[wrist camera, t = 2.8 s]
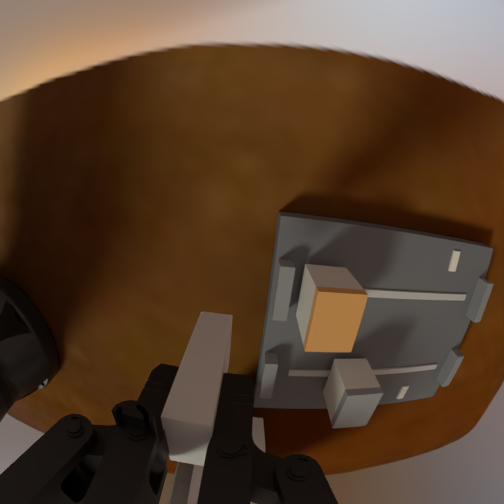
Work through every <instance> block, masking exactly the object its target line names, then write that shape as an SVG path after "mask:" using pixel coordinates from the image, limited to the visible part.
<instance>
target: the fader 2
mask: <svg viewBox="0 0 504 504" xmlns="http://www.w3.org/2000/svg"><path fill="white" fill-rule="evenodd" d="M323 394H324V398H325V401H326V405H327V409H328V413H329V417H330V421H331V425H332V429H333V428H347V427H358V426H366V424H367V423H368V421H369V419H370V417H371V416H372V414H373V412H374V410H375V408H376V407H377V405H378V403H379V401H380V399H381V397H382V395H383V391H382V389H381V387H380V385H379V383H378V381H377V379H376V377H375V375H374V373H373V371H372V369H371V367H370V365H369V363H368V361H367V359H366V358H363V359H334V361H333V365H332V368H331V371H330V374H329V376H328V379H327V382H326V385H325V388H324V391H323Z"/></svg>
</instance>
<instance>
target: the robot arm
mask: <svg viewBox="0 0 504 504" xmlns="http://www.w3.org/2000/svg"><path fill="white" fill-rule="evenodd" d="M232 318H233V315H226V314H218V313H210V312H202V311H201V313H200V316H199V318H198V321H197V323H196V326H195V328H194V331H193V333H192V336H191V338H190V341H189V343H188V346H187V349H186V351H185V354H184V356H183V359H182V361H181V364H180V367H177V366H171V365H166V364H160V365H159V366H157V367H156V368H155V369H153V370H152V372H151V374H150V376H149V378H148V381H147V382H146V384H145V386H144V389H143V390H142V392H141V395H140V397H139V399H138V401H133V400H129V401H123V402H121V403H119V404H117V405H115V407H114V408H113V409H112V413H113V416H114V419H115V421H116V424H117V425H110V426H106V425H92V424H91V422H90V421H89V420H88V419H87V418H86V417H84V416H82V415H80V414H70V415H66V416H65V417H63V418H61V419H60V420H59V421H58V422H57V423H56V424H55V425H54V426H53V427H51V428H50V429H49V430H48V431H47V432H46V433H45V434H44V435H43V436H42V437H41V438H40V439H39V440H37V441H36V442H35V443H34V444H33V445H32V446H31V447H30V448H29V449H28V450H27V451H25V452H24V453H23V454H22V455H21V456H20V457H19V458H18V459H17V460H16V461H15V462H14V463H12V464H11V465H10V466H9V467H8V468H7V469H6V470H5V471H4V472H3V473H2V474H1V475H0V504H159V501H160V497H161V493H162V489H163V485H164V481H165V478H166V474H167V466H166V462H167V459H168V455H169V457H170V460H174V461H178V462H183V463H189V464H194V465H201V466H204V467H203V473H202V478H201V484H200V489H199V495H198V500H197V504H250V502H253V503H256V504H338V502H337V500H336V498H335V496H334V494H333V492H332V490H331V488H330V486H329V484H328V482H327V480H326V477H325V475H324V473H323V471H322V469H321V467H320V465H319V464H318V463H317V461H316V460H314V459H313V458H311V457H309V456H306V455H302V454H292V455H289V456H287V457H284V458H280V457H277V456H274V455H270V454H268V453H265V452H263V451H262V450H261V449H259V448H258V447H257V446H256V444H255V443H254V441H253V437H252V425H253V401H254V384H253V382H252V380H251V378H250V376H249V375H239V374H230V373H227V371H228V365H229V357H230V344H231V331H232ZM58 368H59V357H58V352H57V348H56V345H55V342H54V340H53V337H52V335H51V333H50V331H49V329H48V327H47V325H46V323H45V321H44V320H43V318H42V316H41V315H40V313H39V312H38V310H37V309H36V307H35V306H34V305H33V303H32V302H31V301H30V300H29V298H28V297H27V296H26V295H25V294H24V293H23V292H22V291H21V290H20V289H19V288H18V287H17V286H16V285H14V284H13V283H12V282H10V281H8V280H6V279H4V278H0V422H1V420H2V419H3V417H4V416H5V415H6V413H7V412H8V410H9V409H10V408H11V407H12V406H13V404H14V403H15V402H16V401H18V400H20V399H22V398H24V397H26V396H28V395H29V394H31V393H33V392H34V391H36V390H37V389H41V388H43V387H45V386H46V385H48V384H49V383H50V381H51V380H52V379H53V378H54V376H55V375H56V374H57V372H58Z"/></svg>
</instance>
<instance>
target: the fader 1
mask: <svg viewBox="0 0 504 504" xmlns="http://www.w3.org/2000/svg"><path fill="white" fill-rule="evenodd" d="M367 298H368V294H367V293H366V291H365V290H364V289H363V288H362V286H361V285H360V284H359V283H358V282H357V280H356V279H355V278H354V277H353V275H352V274H351V273H350V272H349V271H348V269H347V268H345V267H334V266H323V265H313V264H305V267H304V273H303V279H302V285H301V290H300V296H299V301H298V307H297V312H296V317H297V321H298V325H299V330H300V334H301V338H302V342H303V346H304V350H305V352H351V351H352V348H353V345H354V342H355V339H356V335H357V332H358V329H359V326H360V322H361V319H362V316H363V312H364V309H365V305H366V302H367Z"/></svg>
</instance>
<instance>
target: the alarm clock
mask: <svg viewBox="0 0 504 504" xmlns="http://www.w3.org/2000/svg"><path fill="white" fill-rule="evenodd" d="M252 437H253V441H254V443H255V444H256V446H257V447H258V448H259V449H261V450H262V451H263V452H265V436H264V423H263V418H256V417H253V425H252ZM203 467H204V466H201V465H194V464H189V463H183V462H178V464H177V467H176V471H175V475H174V480H173V483H172V488H171V492H170V497H169V502H168V504H197V500H198V495H199V489H200V484H201V478H202V473H203ZM250 504H256V503H253V502H250Z"/></svg>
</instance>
